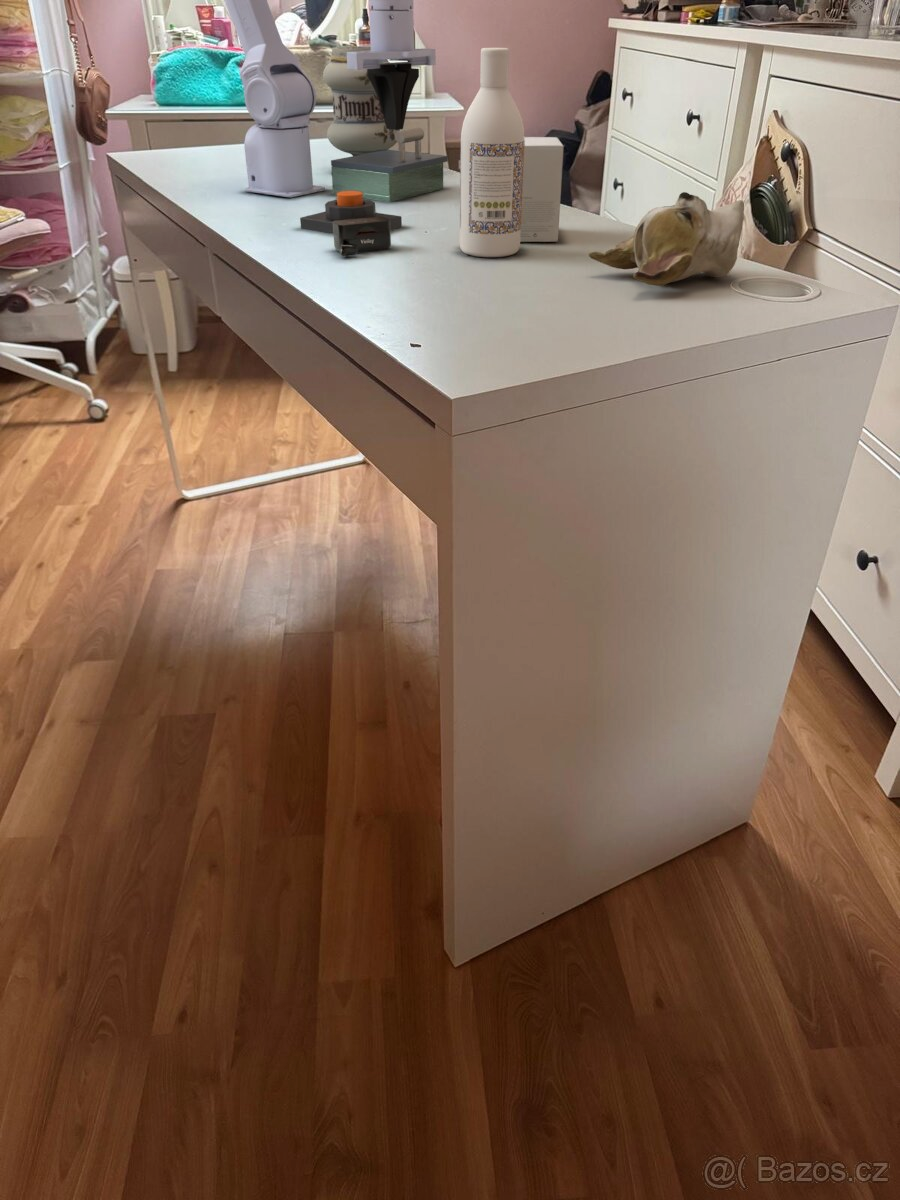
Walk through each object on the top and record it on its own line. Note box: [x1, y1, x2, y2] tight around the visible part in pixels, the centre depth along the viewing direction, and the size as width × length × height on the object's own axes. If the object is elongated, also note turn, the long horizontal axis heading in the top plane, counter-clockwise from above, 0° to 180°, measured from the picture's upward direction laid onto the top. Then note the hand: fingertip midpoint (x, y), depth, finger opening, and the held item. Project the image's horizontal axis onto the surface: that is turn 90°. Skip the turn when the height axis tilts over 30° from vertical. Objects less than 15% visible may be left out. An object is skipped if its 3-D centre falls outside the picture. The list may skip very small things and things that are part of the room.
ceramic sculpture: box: [588, 191, 745, 286], centre depth 90 cm, size 11×9×15 cm
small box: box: [520, 136, 564, 243], centre depth 107 cm, size 8×6×10 cm
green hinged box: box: [330, 162, 444, 203], centre depth 134 cm, size 11×14×4 cm
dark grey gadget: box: [333, 217, 392, 258], centre depth 102 cm, size 5×7×3 cm, turn 118°
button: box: [336, 191, 364, 206], centre depth 112 cm, size 3×3×2 cm
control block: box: [299, 198, 403, 235], centre depth 113 cm, size 10×8×3 cm
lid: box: [330, 127, 449, 173], centre depth 131 cm, size 11×14×5 cm
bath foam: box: [459, 47, 526, 258], centre depth 98 cm, size 7×7×20 cm
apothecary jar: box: [322, 45, 401, 156], centre depth 146 cm, size 12×12×18 cm
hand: (394, 129), depth 123 cm, fingers closed
